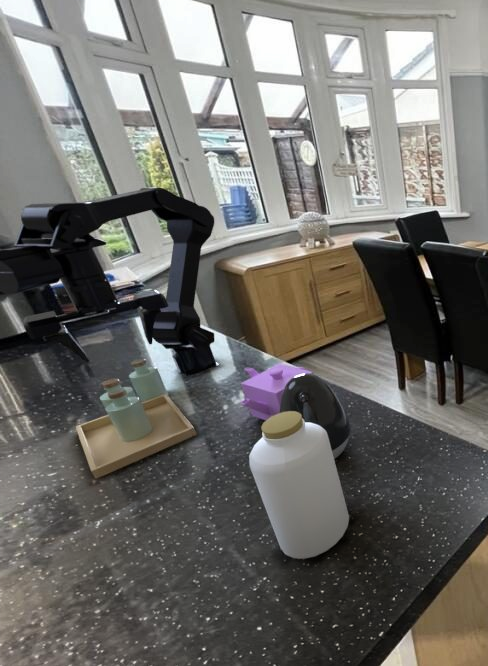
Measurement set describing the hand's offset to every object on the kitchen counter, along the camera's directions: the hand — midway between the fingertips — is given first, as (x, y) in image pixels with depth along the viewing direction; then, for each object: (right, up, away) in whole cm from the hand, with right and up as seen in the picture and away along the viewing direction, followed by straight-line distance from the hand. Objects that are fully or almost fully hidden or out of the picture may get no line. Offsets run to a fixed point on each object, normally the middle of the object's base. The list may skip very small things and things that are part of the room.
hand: (120, 352), depth 77 cm
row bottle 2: (+9, -14, -6) cm, 18 cm away
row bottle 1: (+5, -13, -3) cm, 14 cm away
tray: (+9, -15, -6) cm, 18 cm away
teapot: (+33, -12, -2) cm, 36 cm away
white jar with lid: (+51, -22, -25) cm, 61 cm away
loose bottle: (+2, -10, +5) cm, 12 cm away
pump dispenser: (+45, -16, -12) cm, 50 cm away
